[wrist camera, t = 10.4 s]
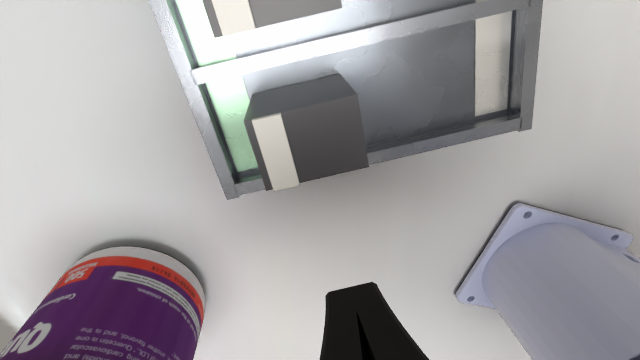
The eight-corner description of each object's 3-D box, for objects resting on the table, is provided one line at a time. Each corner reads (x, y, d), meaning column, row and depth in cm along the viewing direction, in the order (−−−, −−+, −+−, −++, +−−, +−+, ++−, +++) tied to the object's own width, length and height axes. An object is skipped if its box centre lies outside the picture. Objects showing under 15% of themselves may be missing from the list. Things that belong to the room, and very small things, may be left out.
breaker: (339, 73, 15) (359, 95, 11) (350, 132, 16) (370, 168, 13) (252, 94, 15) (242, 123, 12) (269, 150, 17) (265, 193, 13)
